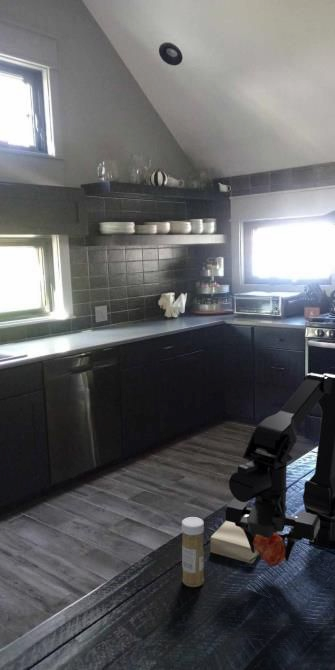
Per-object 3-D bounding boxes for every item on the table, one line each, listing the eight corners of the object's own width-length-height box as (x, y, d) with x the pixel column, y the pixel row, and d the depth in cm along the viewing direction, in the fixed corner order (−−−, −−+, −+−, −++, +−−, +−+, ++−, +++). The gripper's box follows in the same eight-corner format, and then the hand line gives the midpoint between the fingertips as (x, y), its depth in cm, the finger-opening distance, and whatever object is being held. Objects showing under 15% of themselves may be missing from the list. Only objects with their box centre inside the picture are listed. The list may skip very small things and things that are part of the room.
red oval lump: (257, 583, 115) (298, 558, 112) (236, 552, 115) (276, 527, 113) (260, 566, 122) (299, 543, 120) (240, 537, 123) (278, 514, 120)
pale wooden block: (228, 533, 138) (228, 518, 137) (267, 544, 133) (267, 528, 132) (210, 553, 129) (210, 537, 128) (252, 565, 124) (252, 548, 124)
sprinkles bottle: (208, 583, 117) (208, 522, 115) (190, 590, 115) (190, 529, 113) (195, 572, 121) (195, 513, 119) (177, 579, 118) (177, 519, 116)
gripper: (213, 492, 112) (213, 564, 115) (308, 511, 104) (305, 589, 106) (233, 471, 122) (233, 539, 125) (321, 488, 113) (319, 559, 116)
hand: (270, 556), depth 118 cm, fingers closed on red oval lump, 7 cm apart
